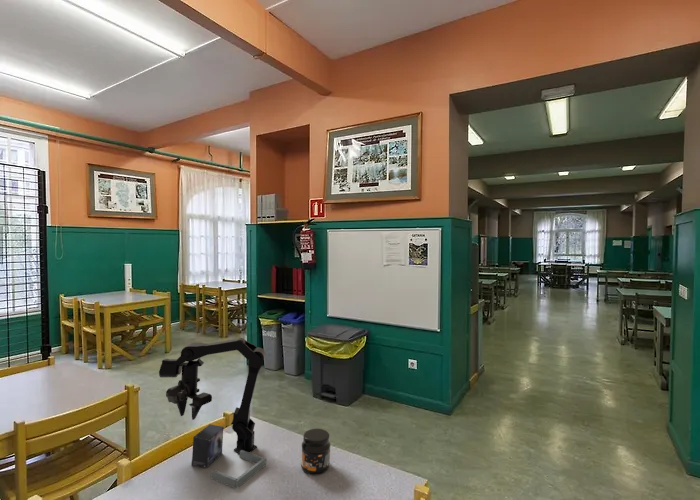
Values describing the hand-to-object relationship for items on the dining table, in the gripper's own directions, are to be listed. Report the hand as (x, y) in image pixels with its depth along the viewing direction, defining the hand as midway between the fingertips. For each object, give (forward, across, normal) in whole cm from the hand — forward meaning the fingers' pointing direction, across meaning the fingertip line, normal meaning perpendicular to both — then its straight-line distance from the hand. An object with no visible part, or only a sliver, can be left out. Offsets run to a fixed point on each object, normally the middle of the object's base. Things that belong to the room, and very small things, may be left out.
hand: (187, 417), depth 138 cm
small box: (+13, +11, 0) cm, 17 cm away
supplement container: (+13, +48, +15) cm, 52 cm away
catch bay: (+13, +26, 0) cm, 29 cm away
